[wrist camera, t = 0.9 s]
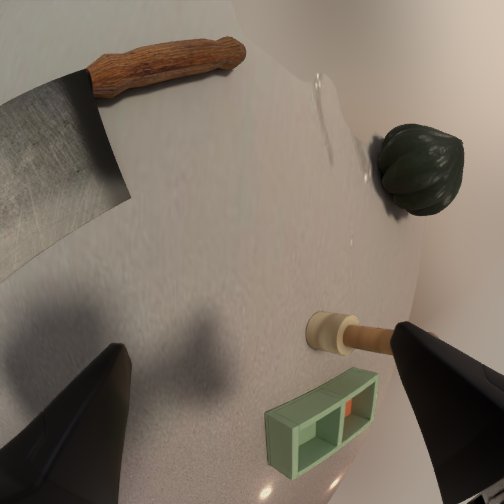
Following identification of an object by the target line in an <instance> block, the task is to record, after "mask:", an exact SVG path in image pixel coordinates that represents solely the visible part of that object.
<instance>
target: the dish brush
mask: <svg viewBox="0 0 504 504" xmlns="http://www.w3.org/2000/svg"><path fill="white" fill-rule="evenodd" d="M393 331H394V330H390V329H382V328H373V327H366V326H360V324H359V321H358V319H357V318H356V317H355V316H353V315H345V314H337V313H328V312H318V313H316V314H314V315H313V316H312V318H311V319H310V321H309V323H308V325H307V329H306V339H307V342H308V344H309V345H310V346H311V347H312V348H315V349H319V350H323V351H327V352H331V353H335V354H339V355H343V356H346V355H349V354H350V353H352V352H353V350H354V349H360V350H366V351H371V352H376V353H382V354H388V355H393V353H392V350H391V347H390V339H391V336H392V334H393ZM428 333H430V334H431V335H433V336H435V337H437V338H438V336H436V335H435V334H434V333H431V332H428ZM438 339H439V338H438Z"/></svg>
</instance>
